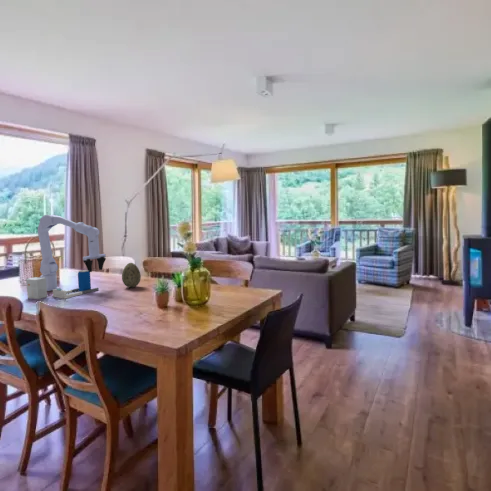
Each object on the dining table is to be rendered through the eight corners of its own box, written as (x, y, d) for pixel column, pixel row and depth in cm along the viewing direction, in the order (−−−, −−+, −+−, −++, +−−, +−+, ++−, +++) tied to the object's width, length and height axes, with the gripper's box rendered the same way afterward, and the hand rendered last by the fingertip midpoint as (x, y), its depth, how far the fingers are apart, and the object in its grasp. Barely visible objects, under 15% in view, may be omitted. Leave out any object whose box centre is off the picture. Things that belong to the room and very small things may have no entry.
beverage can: (81, 290, 214) (80, 269, 213) (92, 289, 215) (91, 269, 214) (77, 292, 208) (75, 271, 207) (88, 292, 209) (87, 271, 207)
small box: (47, 296, 199) (46, 277, 198) (38, 299, 194) (37, 279, 192) (36, 295, 201) (35, 277, 200) (27, 298, 196) (25, 278, 195)
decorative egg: (133, 284, 228) (132, 261, 227) (144, 286, 222) (143, 262, 221) (118, 288, 219) (117, 263, 218) (130, 290, 213) (129, 264, 212)
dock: (53, 296, 199) (52, 288, 199) (87, 288, 219) (86, 281, 218) (64, 298, 195) (64, 290, 194) (98, 290, 214) (98, 282, 214)
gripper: (88, 249, 207) (89, 273, 209) (108, 246, 220) (110, 269, 222) (79, 249, 211) (81, 272, 212) (100, 246, 223) (101, 268, 225)
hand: (95, 270), depth 217 cm, fingers open, 7 cm apart
